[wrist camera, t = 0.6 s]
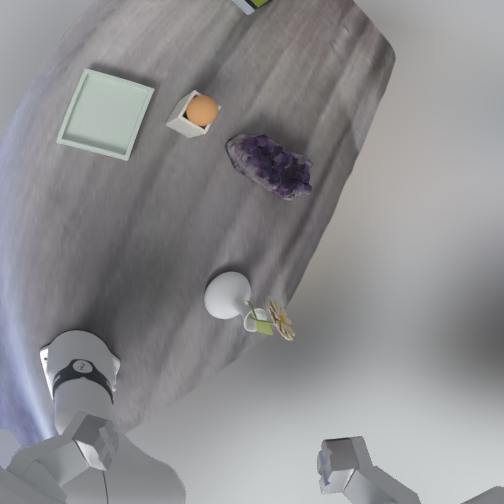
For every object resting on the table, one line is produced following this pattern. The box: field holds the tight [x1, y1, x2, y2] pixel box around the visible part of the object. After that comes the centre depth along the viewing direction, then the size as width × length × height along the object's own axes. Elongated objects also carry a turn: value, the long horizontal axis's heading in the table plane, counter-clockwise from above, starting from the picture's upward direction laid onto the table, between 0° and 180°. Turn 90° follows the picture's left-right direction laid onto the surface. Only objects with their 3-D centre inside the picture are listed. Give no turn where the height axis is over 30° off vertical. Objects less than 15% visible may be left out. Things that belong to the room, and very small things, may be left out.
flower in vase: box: [204, 272, 295, 341], centre depth 57 cm, size 13×11×25 cm
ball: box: [186, 95, 218, 126], centre depth 44 cm, size 5×5×5 cm
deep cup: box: [165, 90, 221, 138], centre depth 48 cm, size 6×6×9 cm
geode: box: [226, 134, 313, 200], centre depth 60 cm, size 20×12×10 cm, turn 65°
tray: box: [56, 68, 154, 161], centre depth 43 cm, size 14×14×2 cm
